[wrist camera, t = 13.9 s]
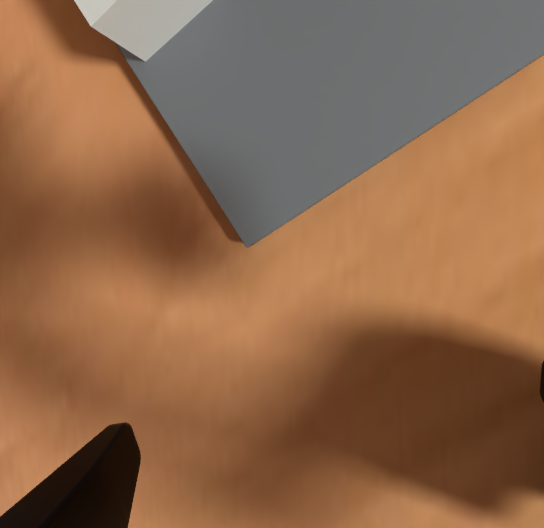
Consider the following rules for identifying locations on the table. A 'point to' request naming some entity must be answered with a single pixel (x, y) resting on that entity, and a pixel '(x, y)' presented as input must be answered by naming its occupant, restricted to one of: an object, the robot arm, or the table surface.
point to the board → (310, 84)
